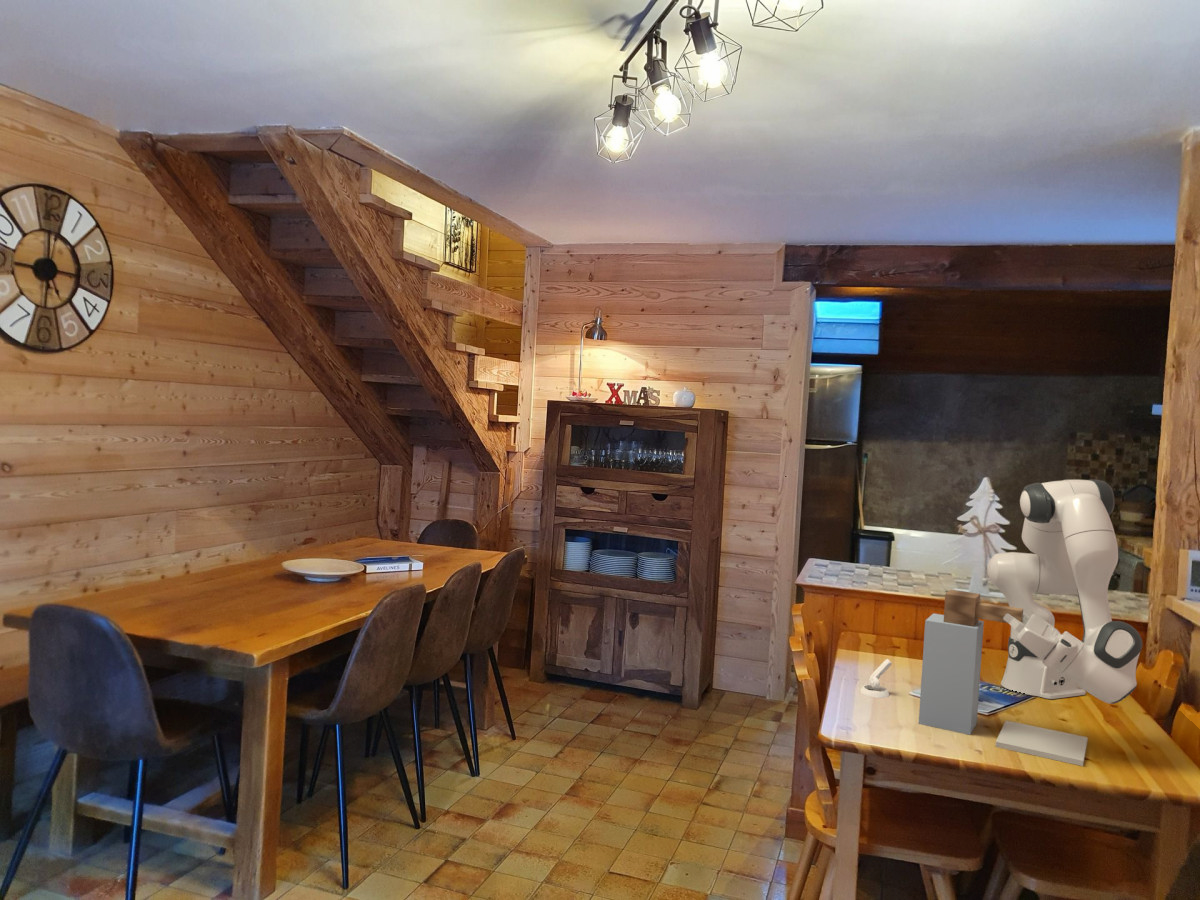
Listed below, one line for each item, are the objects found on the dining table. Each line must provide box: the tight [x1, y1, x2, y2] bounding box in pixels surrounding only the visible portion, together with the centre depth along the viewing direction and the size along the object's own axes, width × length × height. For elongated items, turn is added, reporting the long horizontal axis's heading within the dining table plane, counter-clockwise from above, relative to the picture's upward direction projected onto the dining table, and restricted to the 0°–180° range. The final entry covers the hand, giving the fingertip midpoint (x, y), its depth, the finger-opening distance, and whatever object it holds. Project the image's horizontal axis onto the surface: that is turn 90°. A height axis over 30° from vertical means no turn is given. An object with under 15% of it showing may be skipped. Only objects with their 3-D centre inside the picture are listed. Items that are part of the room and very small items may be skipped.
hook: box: [860, 658, 892, 699], centre depth 240 cm, size 8×12×7 cm
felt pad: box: [995, 720, 1089, 767], centre depth 208 cm, size 18×18×1 cm
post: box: [918, 612, 985, 736], centre depth 219 cm, size 12×10×26 cm
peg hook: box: [943, 589, 1023, 627], centre depth 215 cm, size 17×7×7 cm, turn 58°
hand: (1007, 612), depth 212 cm, fingers open, 6 cm apart
